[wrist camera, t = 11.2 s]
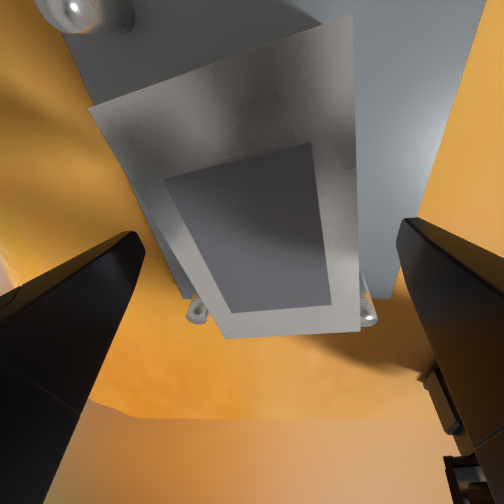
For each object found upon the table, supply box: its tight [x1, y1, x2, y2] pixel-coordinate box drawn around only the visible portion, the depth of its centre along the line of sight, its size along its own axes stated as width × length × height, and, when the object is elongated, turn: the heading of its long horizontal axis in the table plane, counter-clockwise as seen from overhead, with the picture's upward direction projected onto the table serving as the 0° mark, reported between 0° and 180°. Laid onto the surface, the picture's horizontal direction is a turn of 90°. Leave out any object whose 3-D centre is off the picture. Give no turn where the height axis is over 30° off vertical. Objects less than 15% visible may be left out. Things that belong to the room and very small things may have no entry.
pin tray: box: [35, 0, 486, 327], centre depth 11 cm, size 14×17×4 cm
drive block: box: [87, 14, 360, 339], centre depth 10 cm, size 6×10×5 cm, turn 16°
